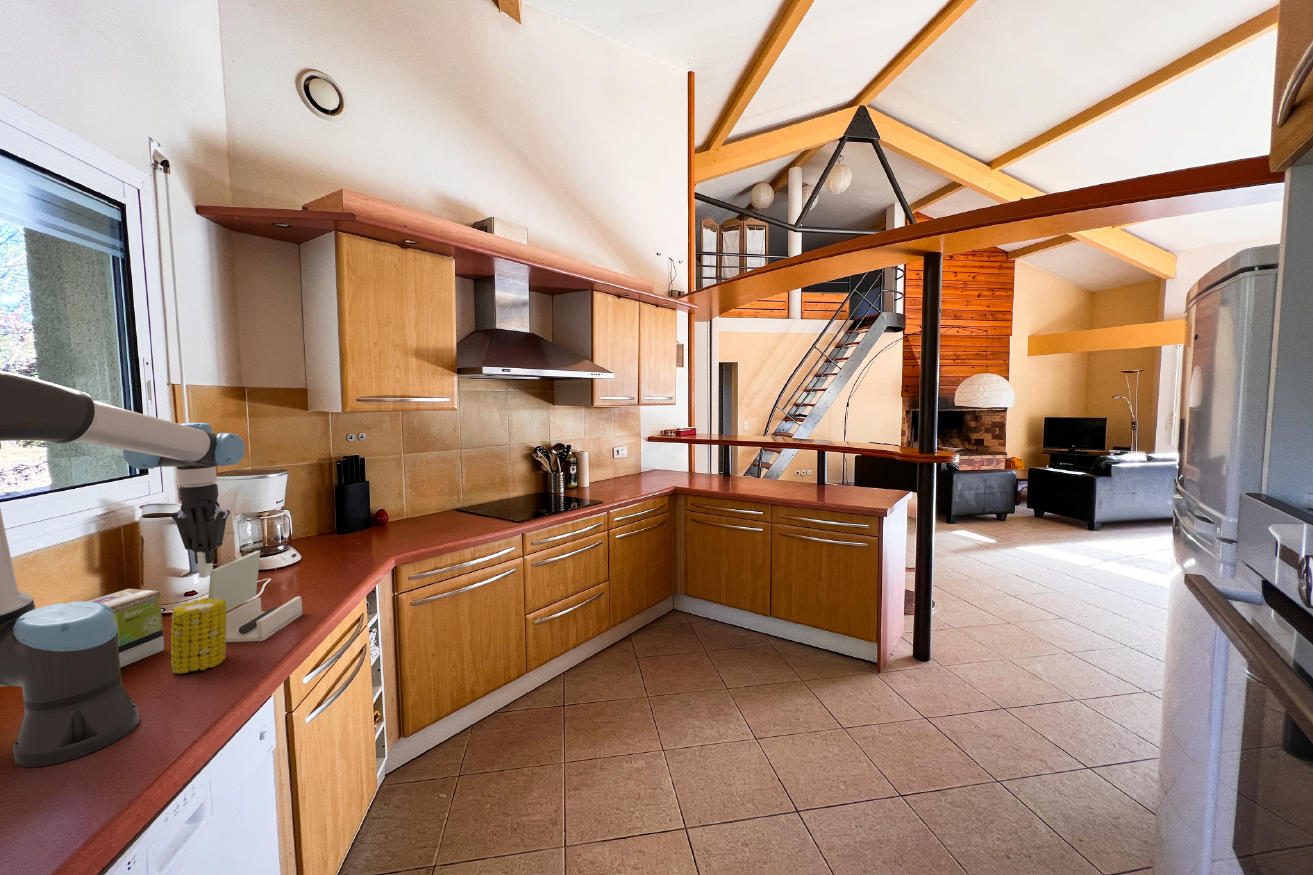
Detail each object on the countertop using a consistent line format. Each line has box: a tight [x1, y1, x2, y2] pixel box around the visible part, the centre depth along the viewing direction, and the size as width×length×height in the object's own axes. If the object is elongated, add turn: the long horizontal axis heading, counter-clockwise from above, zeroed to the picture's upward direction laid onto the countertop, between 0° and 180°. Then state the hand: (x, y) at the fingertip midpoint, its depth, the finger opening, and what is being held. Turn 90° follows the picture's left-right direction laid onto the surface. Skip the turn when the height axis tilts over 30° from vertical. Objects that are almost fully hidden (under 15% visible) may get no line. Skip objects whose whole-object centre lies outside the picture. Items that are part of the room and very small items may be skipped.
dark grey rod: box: [239, 606, 279, 634], centre depth 142 cm, size 13×2×2 cm, turn 2°
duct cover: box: [207, 550, 261, 613], centre depth 140 cm, size 16×12×1 cm
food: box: [170, 597, 227, 675], centre depth 122 cm, size 15×12×10 cm
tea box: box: [87, 588, 165, 669], centre depth 123 cm, size 15×10×15 cm
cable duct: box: [225, 596, 303, 643], centre depth 141 cm, size 16×12×5 cm
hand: (206, 575), depth 139 cm, fingers closed
